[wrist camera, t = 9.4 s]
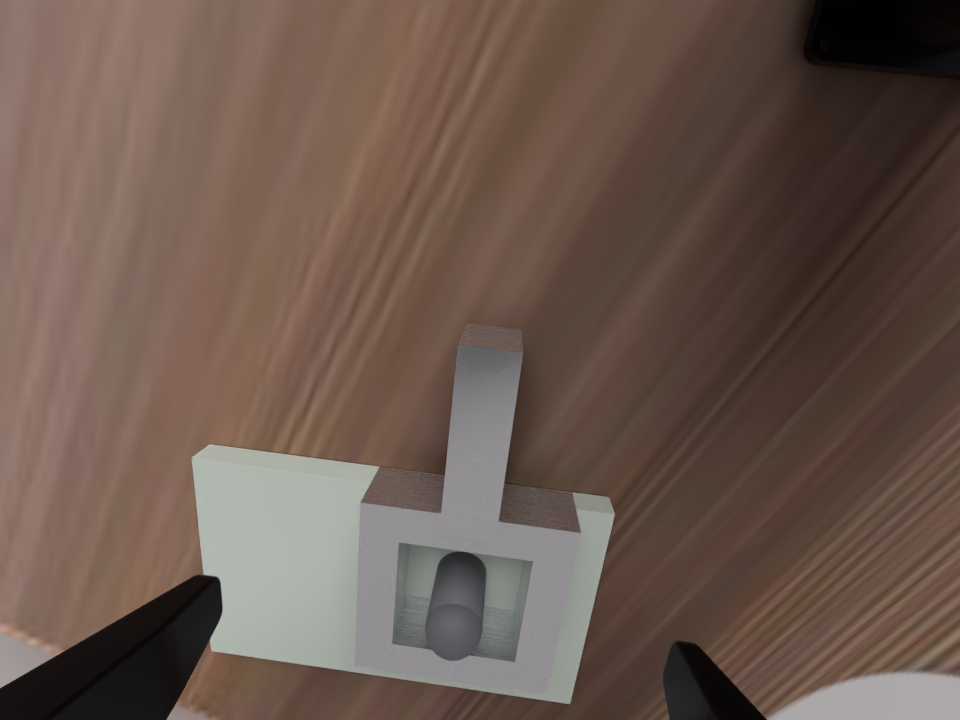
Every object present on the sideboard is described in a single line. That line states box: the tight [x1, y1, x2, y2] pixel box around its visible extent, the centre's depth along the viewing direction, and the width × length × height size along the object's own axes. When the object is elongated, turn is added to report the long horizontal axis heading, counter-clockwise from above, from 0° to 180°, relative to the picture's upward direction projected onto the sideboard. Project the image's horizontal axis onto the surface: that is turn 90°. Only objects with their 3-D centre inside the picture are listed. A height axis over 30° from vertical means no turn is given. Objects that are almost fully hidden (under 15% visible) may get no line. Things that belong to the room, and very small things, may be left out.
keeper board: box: [192, 444, 615, 704], centre depth 19 cm, size 18×11×5 cm, turn 84°
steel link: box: [355, 323, 581, 695], centre depth 17 cm, size 14×8×3 cm, turn 174°
